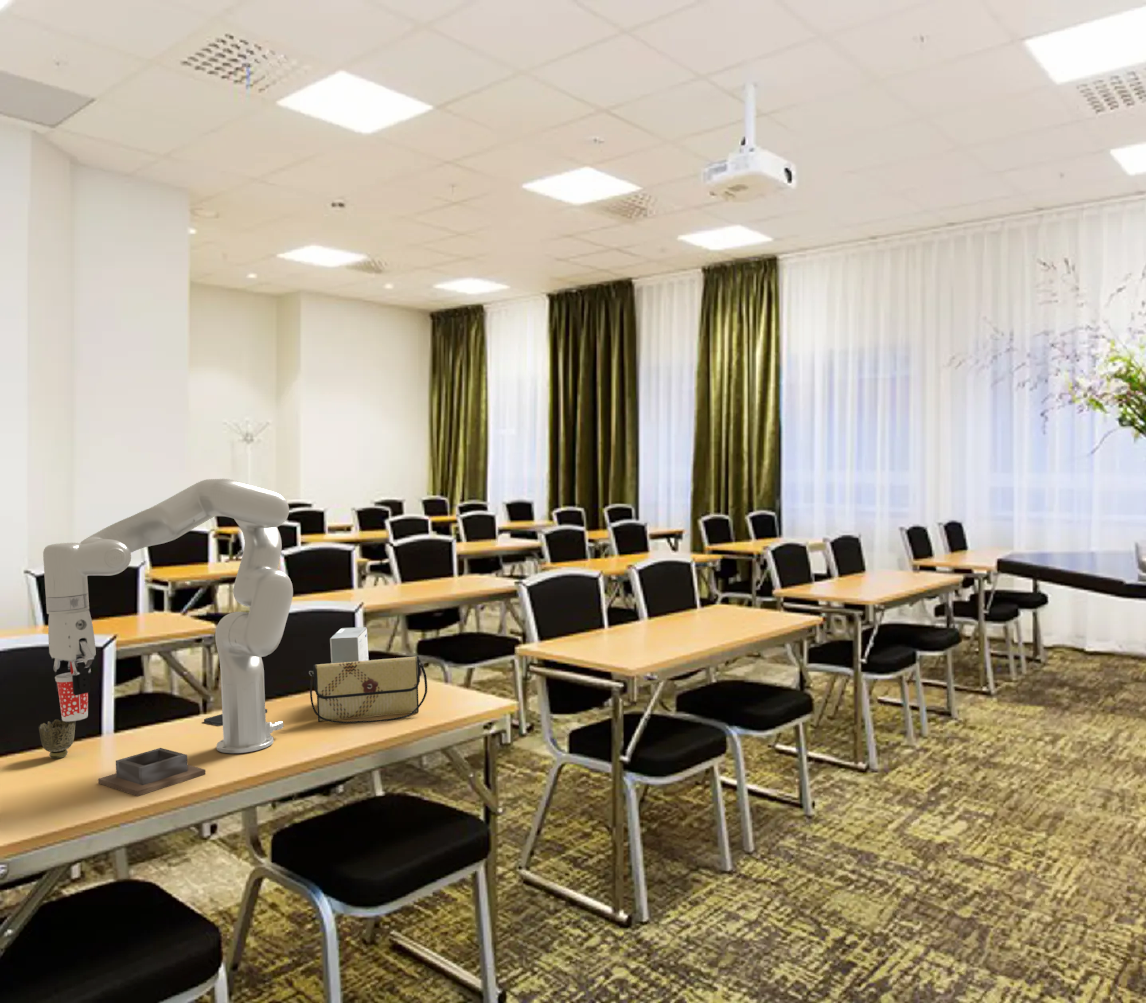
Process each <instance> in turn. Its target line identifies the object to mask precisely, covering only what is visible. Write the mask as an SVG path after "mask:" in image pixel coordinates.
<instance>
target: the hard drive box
mask: <svg viewBox="0 0 1146 1003" xmlns="http://www.w3.org/2000/svg"><path fill="white" fill-rule="evenodd" d="M329 644H330V661H331V662H330V663H343V662H355V661H367V660H370V659H369V645H368V644H369V643H368V628H367V626H366V627H365V626H363V627H362V626H359V627H342V628H340V629H339V630H338V631H336V632H335V633H334V634H333V635H332V636H331V637H330V638H329Z"/></svg>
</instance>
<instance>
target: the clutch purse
mask: <svg viewBox="0 0 1146 1003" xmlns="http://www.w3.org/2000/svg"><path fill="white" fill-rule="evenodd" d="M420 670H422V671H421V672H422V674H423V679H424V694H423V696H422V699H421V701H420V702H419V685H420V682H421V675H420ZM311 673H312V674H311ZM308 674H309V676H310V682H309V696H310V697H309V699H310V703H311V707H312V710H313V712H314V713H315V715H316V716H317V722H324V721H326V722H330V723H333V724H334V723H336V724H357V723H358V724H359V723H361V724H363V723H376V722H388V721H394V720H400V719H404V718H408V717H410V716H412V715H414V714H415V713H419V712H420V711H419V708H420V707H422V705H423V702H424V701H425V699H426V697H427V693H428V679H427V673H426V670H425V668H424V664H423V662H422V661H421V662H420V656H419V655H417V656H409V657H407V656H406V657H396V658H395V657H394V658H382V659H371V660H370V659H369V660H367V661H355V662H343V663H331V662H330V663H320V664H313V670H309V671H308ZM313 688H314V689H313ZM313 690H314V692H315V694H316V700H317V701H316V703H317V704H316V705H317V707H316V708H317V710H316V708H315V705H314V701H313ZM397 714H406V715H402V716H398V717H397V716H396V717H392V718H385V719H375V720H374V719H373V720H369V719H368V720H351V721H350V720H348V721H347V720H346V719H355V718H357V719H358V718H365V717H366V718H367V717H376V716H377V717H379V716H387V715H388V716H389V715H397ZM342 720H345V721H342Z"/></svg>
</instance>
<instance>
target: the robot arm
mask: <svg viewBox="0 0 1146 1003" xmlns="http://www.w3.org/2000/svg"><path fill="white" fill-rule="evenodd" d="M289 514H290V506H289V503H288V501H287V500H286V498H285V497H284V496H282V494H280V493H278V492H276V491H273V490H270V489H265V488H262V487H259V486H258V487H257V486H255V485H253V484H252V485H250V484H249V483H244V482H242V481H237V480H233V479H229V478H208V479H203V480H200V481H198V482H196V483H194V484H193V485H191V486H189V487H187V488H185V489H183V490H181V491H179V492H178V493H176V494H174V495H172V496H170V497H168V498H167V499H165V500H163V501H161V502H159V503H158V504H157V503H156V505H153V506H151V507H149V508H146V509H144V510H141V511H139V512H137V513H135V514H133V515H131V516H129V517H126V518H123V519H121V520H119V521H117V522H115V523H112V524H111V525H109V526H107V527H105V528H102V529H101V530H99V531H97V532H95V533H93V534H91V535H89V536H87V537H86V538H84V539H83V540H81V541H80V542H63V543H62V542H61V543H53V544H49V545H46V546H45V547H44V549H43V551H42V556H43V557H42V558H43V572H44V574H43V575H44V589H45V604H46V605H45V606H46V614H47V615H48V628H47V629H48V654H49V655H50V657H51V662H52V664H53V671H54V677H55V676H57V675H60V674H64V673H69V672H71V668H70V661H71V663H72V667H73V672H74V674H75V675H73V676H72V680H73V694H74V695H80V694H84V693H88V694H89V693H90V692H91V690H92V688H91V672H92V671H91V669H92V668H91V667H92V664H93V661H94V660H95V657H96V655H97V654H96V653H97V652H96V649H97V648H96V641H95V633H94V625H93V621H92V617H91V612H90V602H89V599H90V598H89V584H88V576H103V577H104V576H115V575H119V574H120V573H122V572H123V571H125V570H126V569H127V568H128V567H129V566H130V564H131V561H132V553H134V552H136V551H138V550H141V549H144V548H148V547H151V546H157V545H161V544H165V543H168V542H169V543H170V542H172V541H175V540H176V539H177V540H178V538H180V537H182V536H183V535H185V534H187V533H189V532H190V531H192V530H193V529H195V528H197V527H199V526H200V525H202V524H204V523H206V522H208V521H210V520H211V519H212V518H215V517H226V518H231V519H234V521H235V522H236V524H237V525H238V527H239V528H240V530H241V532H242V535H243V539H244V540H243V541H244V545H243V552H242V557H241V560H240V563H239V567H238V570H237V573H236V577H235V580H234V585H233V589H232V590H233V591H232V594H233V598H234V599H235V601H236V602H237V603H238V604H239V605H241V606H245V607H248V608H249V610H248V612H245V611H234V612H231V613H228V614H226V615H224V616H223V617H222V618H221V619H220V620H219V622H218V623H217V624H216V628H215V636H214V638H215V640H214V641H215V645H216V648H217V654H218V659H219V660H218V661H219V667H220V668H219V669H220V685H221V686H220V688H221V708H222V710H221V711H222V713H221V714H222V716H223V726H222V736H223V739H221V740H219V741H218V742H217V744H216V750H217V751H218V752H219V753H223V754H243V753H244V754H245V753H246V754H247V753H251V752H252V753H253V752H255V751H260V750H263V749H267V748H268V747H271V746H272V745H273V744H274V737H273V735H271V734H272V733H273V731H274V732H275V731H278V730H281V729H284V722H283V721H282V720H278V721H276V722H275V721H274V722H271V721H269V722H268V721H267V720H266V717H267V715H266V713H265V709H266V694H265V691H266V690H265V670H264V661H263V659H262V657H267V656H268V655H271V654H272V653H274V651H275V650H277V648H278V647H279V644H280V643H281V640H282V638H283V635H284V631H285V627H286V623H287V621H288V617H289V613H290V609H291V605H292V601H293V597H294V588H293V583H292V581H291V578H290V577H289V576H288V574H287V573H285V571H283V570H280V569H279V564H280V560H281V554H282V548H283V547H282V543H283V542H282V537H281V533H280V531H279V529H278V527H280V526H281V525H283V524H284V523H285V522H286V520H287V519H288V517H289ZM80 657H81V658H80ZM78 663H79V664H78ZM54 680H56V679H55V678H54ZM55 690H56V692H58V686H57V682H56V681H55Z"/></svg>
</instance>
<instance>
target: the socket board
mask: <svg viewBox="0 0 1146 1003" xmlns="http://www.w3.org/2000/svg"><path fill="white" fill-rule="evenodd" d="M205 775H206V769H205V768H202V767H197V766H193V765H189V764H188V754H186V753H183V752H178V751H174V750H170V749H166V748H162V747H159V748H155V749H151V750H148V751H145V752H141V753H138V754H133V755H131V756H127V757H123V758H120V759H117V760H115V773H113V774H109V775H106V776H102V777H99V778H98V780H97V781H98V784H99V785H102V786H105V787H108V788H112V789H115V790H118V791H120V792H124V793H127V794H130V795H132V796H133V795H134V796H135V797H139V796H143V795H145V794H148V793H151V792H155V791H159V790H161V789H163V788H167V787H171V786H174V785H176V784H180V783H182V782H185V781H189V780H191V779H195V778H198V777H201V776H205Z"/></svg>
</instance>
